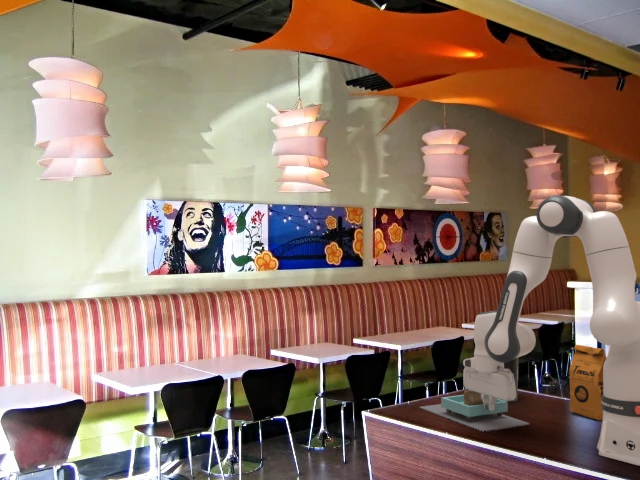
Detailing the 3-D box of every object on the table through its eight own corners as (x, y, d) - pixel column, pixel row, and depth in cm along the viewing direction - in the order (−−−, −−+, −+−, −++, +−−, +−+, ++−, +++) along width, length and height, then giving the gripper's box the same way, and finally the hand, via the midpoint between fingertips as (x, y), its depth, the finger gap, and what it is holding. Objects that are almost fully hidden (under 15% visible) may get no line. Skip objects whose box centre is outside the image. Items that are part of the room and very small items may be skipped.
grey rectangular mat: (529, 424, 200) (529, 423, 200) (482, 432, 192) (482, 430, 192) (462, 402, 229) (462, 401, 229) (419, 408, 221) (419, 406, 221)
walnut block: (484, 406, 208) (484, 392, 209) (473, 408, 207) (472, 393, 207) (475, 403, 213) (475, 389, 213) (463, 405, 211) (463, 391, 211)
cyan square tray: (507, 416, 207) (507, 401, 207) (469, 422, 200) (469, 407, 200) (478, 407, 219) (478, 392, 219) (441, 412, 213) (441, 397, 213)
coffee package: (595, 422, 202) (595, 350, 203) (565, 413, 214) (564, 344, 214) (619, 418, 207) (618, 348, 207) (588, 410, 218) (587, 343, 218)
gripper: (521, 368, 194) (521, 416, 194) (475, 358, 212) (475, 401, 212) (504, 370, 191) (504, 418, 191) (459, 359, 209) (459, 403, 209)
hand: (489, 409), depth 201 cm, fingers closed
